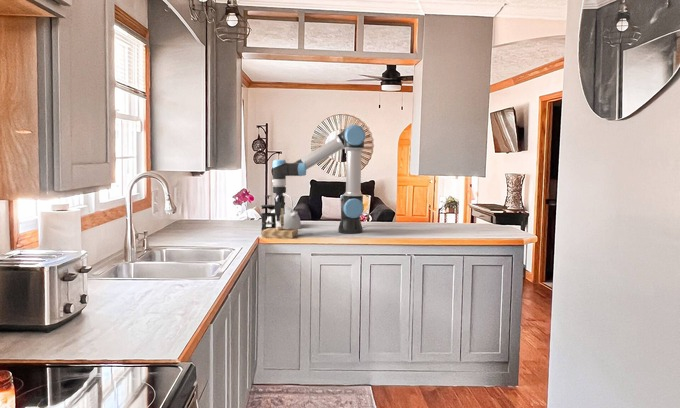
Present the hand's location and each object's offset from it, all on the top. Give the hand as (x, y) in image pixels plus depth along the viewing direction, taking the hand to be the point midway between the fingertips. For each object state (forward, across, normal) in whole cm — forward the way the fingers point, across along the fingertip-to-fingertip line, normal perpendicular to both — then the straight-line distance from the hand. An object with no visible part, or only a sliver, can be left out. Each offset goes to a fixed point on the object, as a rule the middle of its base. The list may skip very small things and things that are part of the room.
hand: (280, 225), depth 327 cm
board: (+6, 0, 0) cm, 6 cm away
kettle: (+7, -36, -7) cm, 38 cm away
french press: (+6, -10, -10) cm, 16 cm away
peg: (+4, 0, 0) cm, 4 cm away
